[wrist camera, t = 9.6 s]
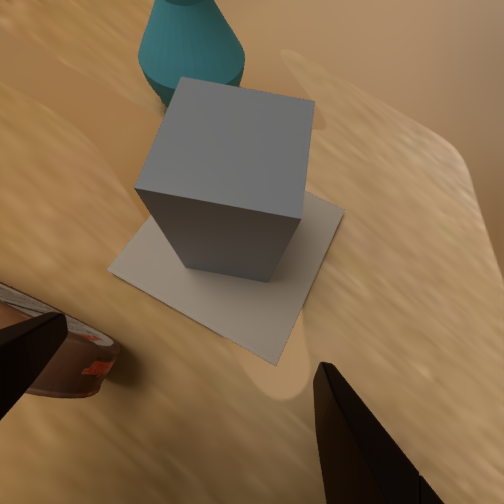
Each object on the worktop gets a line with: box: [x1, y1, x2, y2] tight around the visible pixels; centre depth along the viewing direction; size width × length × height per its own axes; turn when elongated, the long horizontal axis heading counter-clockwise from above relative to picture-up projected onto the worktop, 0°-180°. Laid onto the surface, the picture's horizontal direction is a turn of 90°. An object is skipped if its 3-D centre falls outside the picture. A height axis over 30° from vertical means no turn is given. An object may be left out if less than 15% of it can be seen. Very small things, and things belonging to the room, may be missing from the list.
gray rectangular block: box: [134, 77, 315, 283], centre depth 15 cm, size 6×6×10 cm
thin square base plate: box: [107, 191, 345, 366], centre depth 18 cm, size 14×14×5 cm
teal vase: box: [138, 0, 245, 107], centre depth 19 cm, size 9×9×15 cm
